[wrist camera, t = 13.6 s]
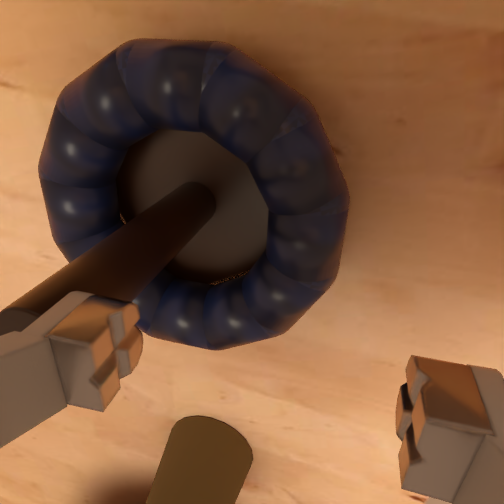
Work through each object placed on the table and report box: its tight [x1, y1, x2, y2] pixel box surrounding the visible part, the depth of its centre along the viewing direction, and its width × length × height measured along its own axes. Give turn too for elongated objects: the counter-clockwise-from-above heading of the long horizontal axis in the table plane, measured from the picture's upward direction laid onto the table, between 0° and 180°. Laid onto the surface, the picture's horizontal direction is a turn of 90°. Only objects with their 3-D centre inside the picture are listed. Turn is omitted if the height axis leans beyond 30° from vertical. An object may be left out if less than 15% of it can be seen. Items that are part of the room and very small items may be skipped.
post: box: [0, 129, 269, 336], centre depth 14 cm, size 8×8×11 cm
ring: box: [38, 38, 350, 350], centre depth 16 cm, size 13×13×3 cm
